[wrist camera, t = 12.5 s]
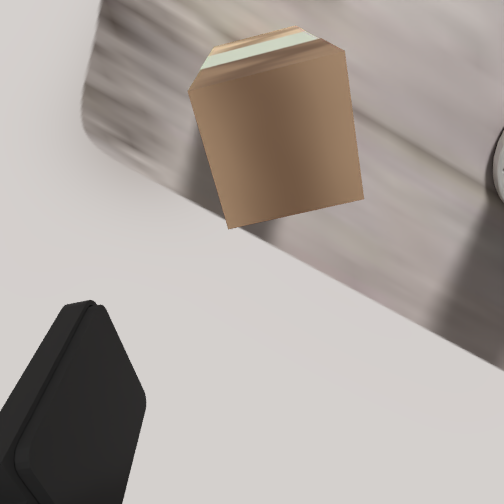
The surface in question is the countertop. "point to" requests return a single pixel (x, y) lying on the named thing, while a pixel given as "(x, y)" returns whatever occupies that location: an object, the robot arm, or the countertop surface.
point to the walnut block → (279, 132)
